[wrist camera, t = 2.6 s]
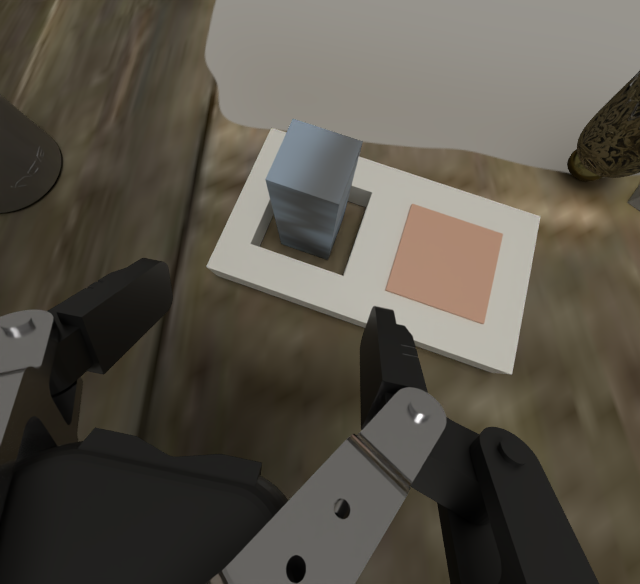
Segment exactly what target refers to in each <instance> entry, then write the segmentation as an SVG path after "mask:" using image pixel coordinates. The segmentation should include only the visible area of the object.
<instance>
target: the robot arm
mask: <svg viewBox="0 0 640 584" xmlns="http://www.w3.org/2000/svg"><path fill="white" fill-rule="evenodd" d="M60 168H61V154H60V150H59V147H58V146H57V144H56V142H55V141H54V140H53V139H52V138H51V137H50V136H49V135H48V134H47V133H46V132H44V131H43V130H42V129H41V128H40V127H38V126H37V125H36V124H35V123H34V122H33V121H31V120H30V119H29V118H28V117H27V116H25V115H24V114H23V113H22V112H21V111H19V110H18V109H17V108H16V107H15V106H13V105H12V104H11V103H10V102H9V101H8V100H6V99H5V98H4V97H3V96H2V95H1V94H0V213H5V212H10V211H15V210H19V209H21V208H24V207H26V206H29V205H30V204H32V203H34V202H35V201H37V200H39V199H40V198H41V197H42V196H43V195H44V194H46V193H47V192H48V191H49V189H50V188H51V187H52V186H53V184H54V183H55V181H56V179H57V177H58V175H59V172H60ZM172 299H173V295H172V288H171V282H170V275H169V269H168V265H167V264H166V263H165V262H162V261H157V260H152V259H147V258H142V259H140V260H138V261H136V262H135V263H133V264H132V265H130V266H128V267H127V268H124V269H121V270H118V271H115V272H112V273H110V274H108V275H106V276H105V277H103V278H101V279H100V280H98V282H95V283H93V284H91V285H90V286H88V288H85V289H83V290H81V291H80V292H78V293H76V294H75V295H73V296H72V297H70V298H68V299H67V300H65V301H63V302H62V303H60V304H58V305H57V306H55V307H53V308H52V309H50V310H48V311H43V310H24V311H18V312H14V313H10V314H7V315H4V316H2V317H0V584H355V582H356V581H357V579H358V577H359V576H360V574H361V572H362V571H363V569H364V567H365V566H366V564H367V562H368V560H369V559H370V557H371V555H372V554H373V552H374V550H375V549H376V547H377V545H378V544H379V542H380V540H381V538H382V537H383V535H384V533H385V532H386V530H387V528H388V527H389V525H390V523H391V522H392V520H393V518H394V517H395V515H396V513H397V511H398V510H399V508H400V506H401V505H402V503H403V501H404V500H405V498H406V496H407V494H408V492H409V490H410V486H411V487H412V488H414V489H416V490H417V491H419V492H421V493H422V494H424V495H426V496H427V497H429V498H431V499H433V500H434V501H436V502H437V504H438V511H439V517H440V523H441V529H442V535H443V541H444V547H445V553H446V559H447V565H448V572H449V578H450V584H599V583H598V580H597V578H596V576H595V574H594V572H593V570H592V568H591V566H590V564H589V562H588V560H587V558H586V556H585V554H584V552H583V550H582V548H581V546H580V544H579V542H578V540H577V538H576V536H575V534H574V532H573V530H572V527H571V525H570V523H569V521H568V519H567V517H566V515H565V513H564V511H563V509H562V507H561V505H560V503H559V501H558V499H557V497H556V495H555V493H554V491H553V489H552V487H551V485H550V483H549V481H548V479H547V476H546V474H545V472H544V470H543V468H542V466H541V464H540V462H539V460H538V459H537V457H536V456H535V454H534V453H533V451H532V450H531V449H530V448H529V447H528V446H527V445H526V444H525V443H524V442H523V441H522V440H521V439H519V438H518V437H517V436H515V435H514V434H512V433H510V432H509V431H506V430H504V429H501V428H497V427H488V428H485V429H484V430H483V431H482V432H481V433H480V434H477V433H475V432H473V431H471V430H469V429H467V428H465V427H463V426H461V425H459V424H457V423H455V422H454V421H452V420H450V419H449V418H447V417H446V415H445V412H444V410H443V408H442V406H441V405H440V404H439V402H438V401H437V400H436V399H435V398H434V397H432V396H431V395H430V394H428V392H427V388H426V384H425V381H424V377H423V373H422V369H421V365H420V362H419V358H418V354H417V350H416V349H415V343H414V339H413V336H412V334H411V333H410V332H409V331H408V329H407V328H406V327H405V326H404V325H399V324H396V319H395V314H394V311H393V310H392V309H387V308H382V307H377V306H373V307H372V310H371V312H370V315H369V318H368V321H367V324H366V327H365V330H364V333H363V336H362V340H361V345H360V393H361V430H362V431H361V432H360V433H359V434H358V435H355V434H353V435H351V436H350V437H349V438H347V439H346V440H345V441H344V442H343V444H342V445H341V446H340V447H339V448H338V449H337V450H336V451H335V452H334V453H333V454H332V455H331V456H330V457H329V458H328V459H327V461H326V462H325V463H324V464H323V465H322V466H321V467H320V468H319V469H318V470H317V471H316V472H315V473H314V474H313V475H312V476H311V477H310V479H309V480H308V481H307V482H306V483H305V484H304V485H303V486H302V487H301V488H300V489H299V490H298V491H297V492H296V493H295V494H294V495H293V497H292V498H291V499H290V500H289V501H288V499H287V498H286V497H285V495H284V494H283V493H282V492H281V491H280V490H279V489H278V488H277V487H276V486H275V485H273V484H272V483H271V482H270V481H268V480H267V479H265V478H263V477H262V476H260V475H261V466H262V463H261V462H256V461H251V460H247V459H242V458H237V457H233V456H228V455H223V454H213V455H197V456H182V457H173V456H169V455H167V454H166V453H164V452H162V451H160V450H159V449H157V448H155V447H154V446H152V445H150V444H149V443H147V442H145V441H143V440H142V439H140V438H138V437H137V436H133V435H128V434H123V433H119V432H114V431H109V430H104V429H100V428H94V430H93V431H92V432H91V433H90V434H89V435H88V437H87V438H86V439H85V440H84V441H81V442H78V436H77V431H78V421H79V413H80V404H81V395H82V387H83V381H82V379H81V376H82V375H83V374H84V373H85V372H86V371H90V372H94V373H99V374H105V373H106V372H107V371H108V370H109V369H110V368H111V367H112V366H113V365H114V364H115V363H116V362H117V361H118V360H119V359H120V358H121V357H122V356H123V355H124V354H125V353H126V352H127V351H128V350H129V349H130V348H131V347H132V346H133V345H134V344H135V343H136V342H137V341H138V340H139V339H140V338H141V337H142V336H143V335H144V334H145V333H146V332H147V331H148V330H149V329H150V328H151V327H152V326H153V325H154V324H155V323H156V322H157V321H158V320H159V319H160V318H161V317H162V316H163V315H164V314H165V313H166V312H167V311H168V310H169V308H170V307H171V304H172Z"/></svg>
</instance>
